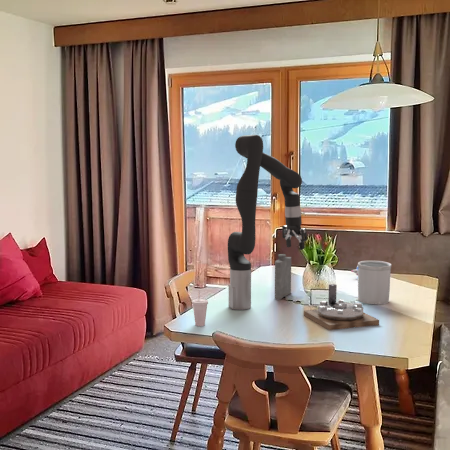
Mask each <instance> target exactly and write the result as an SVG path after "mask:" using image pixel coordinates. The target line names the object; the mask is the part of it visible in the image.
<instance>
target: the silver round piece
mask: <svg viewBox="0 0 450 450" xmlns="http://www.w3.org/2000/svg"><path fill="white" fill-rule="evenodd" d="M317 309H318V314H319V315H320V316H321V317H324V318H327V319H333V320H356V319H360V318H362V317H363V312H364V307H363V303H362V302H354V303H352V302H345V301H344V299H341V298H340V299H338V300H337V284H336V283H329V284H328V301H326V300H320V301H319V304H318V308H317Z"/></svg>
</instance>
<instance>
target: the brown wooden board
mask: <svg viewBox="0 0 450 450" xmlns="http://www.w3.org/2000/svg"><path fill="white" fill-rule="evenodd" d="M303 316H305V317H306V318H308V319H309V320H311V321H313V322H315V323H316V324H318V325H320V326H322V327H323V328H325V329H326V330H328V331H333V330H334V331H335V330H342V329H344V330H345V329H353V328H354V327H355V328H362V327H371V326H372V327H373V326H379V325H380V319H378V318H376V317H374V316H372V315H370V314H368V313H365V312H364V311H363V317H362V318H360V319H356V320H333V319H327V318H324V317H321V316H320V315H319V314H318V308H316V309H307V310H303Z"/></svg>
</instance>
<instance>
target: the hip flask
mask: <svg viewBox="0 0 450 450" xmlns="http://www.w3.org/2000/svg"><path fill="white" fill-rule="evenodd" d="M277 256H278V259H276V260H275V261H274V300H277V301H279V300H282V299H283V298H284V297H285V296H288V295H290V294H291V293H292V256H287V255H286V254H285V253H280V254H277Z"/></svg>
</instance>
